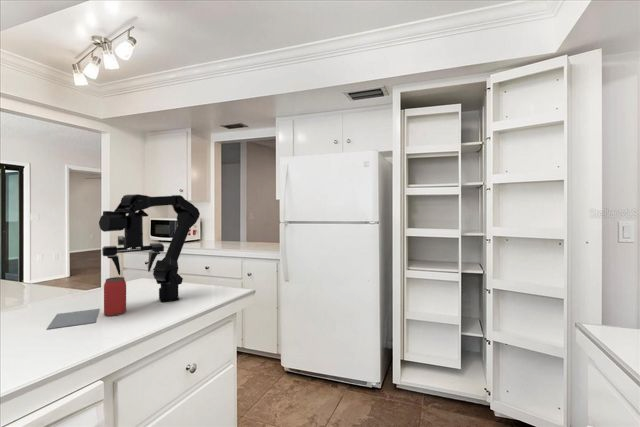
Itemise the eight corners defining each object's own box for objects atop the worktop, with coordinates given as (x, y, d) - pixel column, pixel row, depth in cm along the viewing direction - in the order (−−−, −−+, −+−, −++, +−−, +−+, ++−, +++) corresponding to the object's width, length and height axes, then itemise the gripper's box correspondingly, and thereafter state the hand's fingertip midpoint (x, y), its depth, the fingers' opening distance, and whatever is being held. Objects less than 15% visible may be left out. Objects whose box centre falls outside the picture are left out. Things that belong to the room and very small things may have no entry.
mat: (99, 309, 117) (99, 308, 117) (95, 322, 103) (95, 321, 103) (57, 314, 111) (57, 313, 111) (46, 329, 97) (46, 328, 97)
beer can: (115, 317, 108) (115, 281, 108) (98, 315, 110) (98, 280, 110) (130, 311, 115) (130, 277, 115) (114, 310, 116) (114, 276, 116)
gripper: (157, 227, 128) (158, 266, 129) (100, 229, 117) (101, 272, 118) (164, 228, 120) (164, 271, 120) (102, 231, 108) (103, 278, 109)
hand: (134, 273), depth 117 cm, fingers open, 9 cm apart
